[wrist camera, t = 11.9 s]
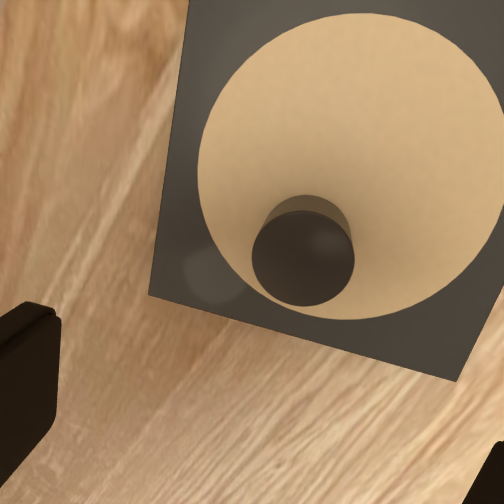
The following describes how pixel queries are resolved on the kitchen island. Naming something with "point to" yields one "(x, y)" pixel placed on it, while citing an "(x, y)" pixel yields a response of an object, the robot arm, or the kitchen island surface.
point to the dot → (304, 251)
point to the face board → (343, 167)
